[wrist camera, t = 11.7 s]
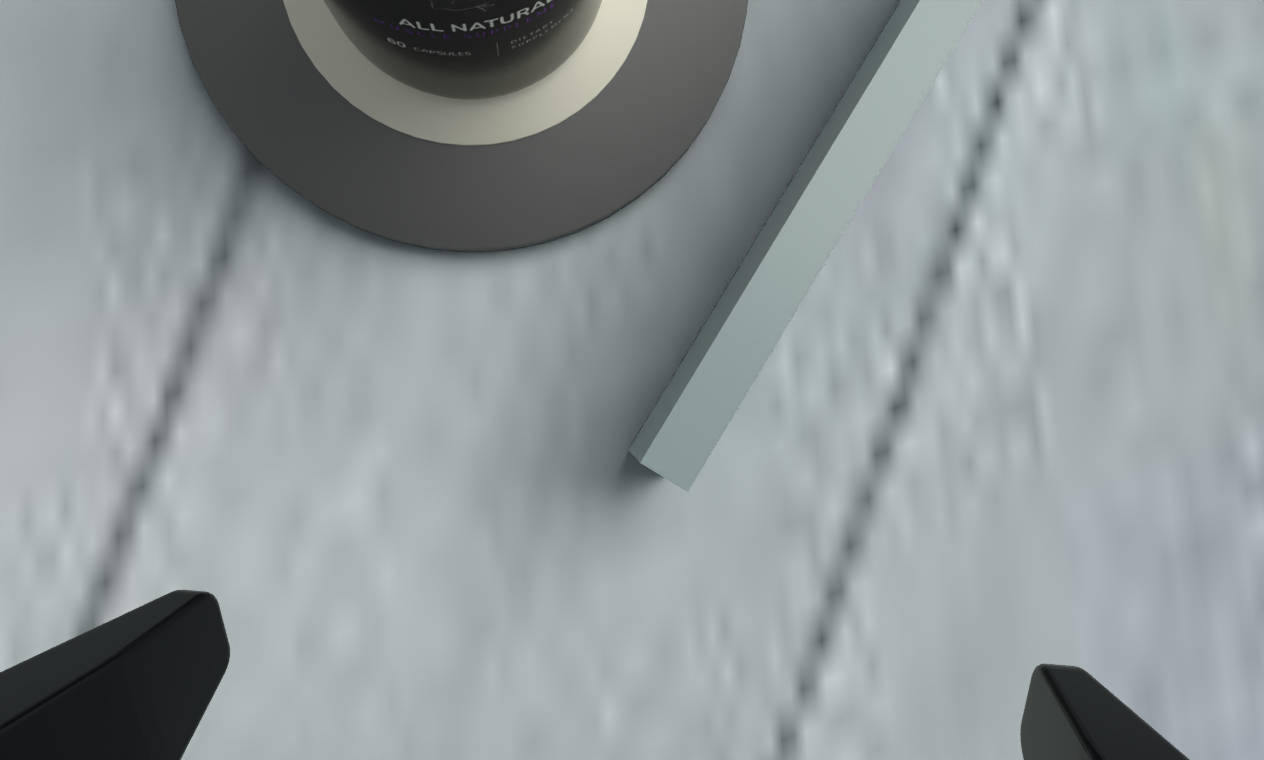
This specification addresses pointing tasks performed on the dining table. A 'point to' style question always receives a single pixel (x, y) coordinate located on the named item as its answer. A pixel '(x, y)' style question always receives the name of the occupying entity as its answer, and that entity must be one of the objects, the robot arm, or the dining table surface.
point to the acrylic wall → (799, 237)
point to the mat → (466, 120)
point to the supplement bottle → (466, 41)
